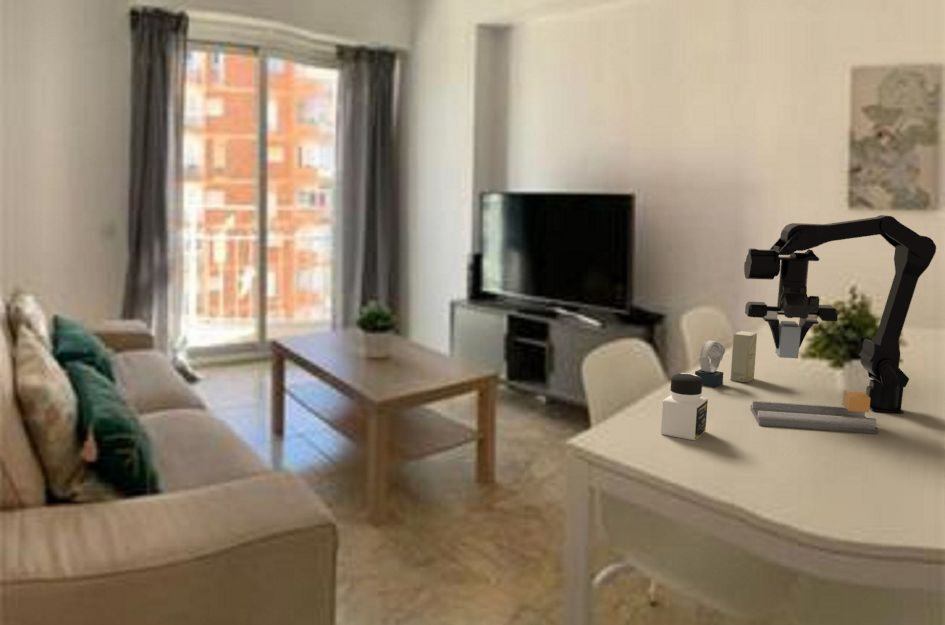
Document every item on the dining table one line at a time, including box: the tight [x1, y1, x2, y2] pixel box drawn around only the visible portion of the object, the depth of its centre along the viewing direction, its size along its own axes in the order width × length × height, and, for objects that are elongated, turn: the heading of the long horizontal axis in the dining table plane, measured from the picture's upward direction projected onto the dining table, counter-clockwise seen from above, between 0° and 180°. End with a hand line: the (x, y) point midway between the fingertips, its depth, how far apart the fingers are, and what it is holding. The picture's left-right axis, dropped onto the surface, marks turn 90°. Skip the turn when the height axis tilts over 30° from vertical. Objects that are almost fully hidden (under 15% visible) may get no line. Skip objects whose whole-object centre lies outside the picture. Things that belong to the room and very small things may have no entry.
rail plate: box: [750, 400, 879, 435], centre depth 169 cm, size 23×12×2 cm, turn 79°
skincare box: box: [730, 330, 758, 383], centre depth 203 cm, size 6×4×12 cm
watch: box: [694, 339, 726, 389], centre depth 198 cm, size 6×8×11 cm
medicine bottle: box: [660, 372, 709, 441], centre depth 159 cm, size 7×7×12 cm
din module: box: [774, 320, 801, 359], centre depth 179 cm, size 4×5×8 cm
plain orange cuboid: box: [841, 390, 870, 413], centre depth 167 cm, size 4×5×3 cm
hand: (787, 348), depth 179 cm, fingers closed on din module, 4 cm apart
